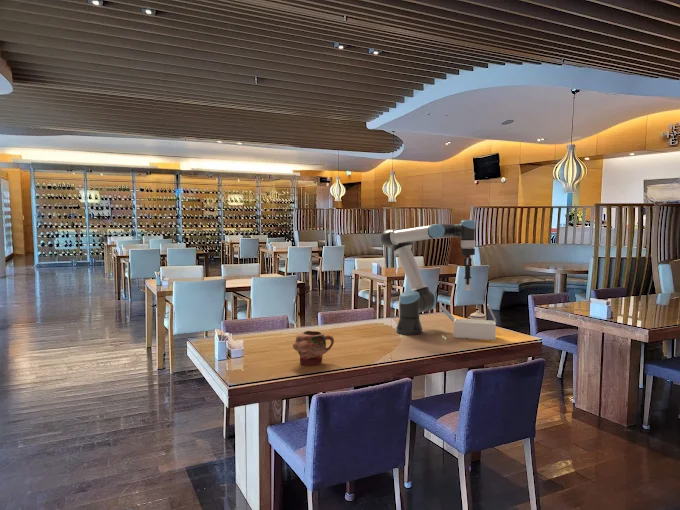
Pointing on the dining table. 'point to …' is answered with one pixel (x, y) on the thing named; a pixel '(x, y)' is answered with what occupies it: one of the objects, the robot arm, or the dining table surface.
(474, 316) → the teacup with lid
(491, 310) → the flap
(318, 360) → the brown sculpted mug
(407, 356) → the dining table surface
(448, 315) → the flap
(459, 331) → the carton
